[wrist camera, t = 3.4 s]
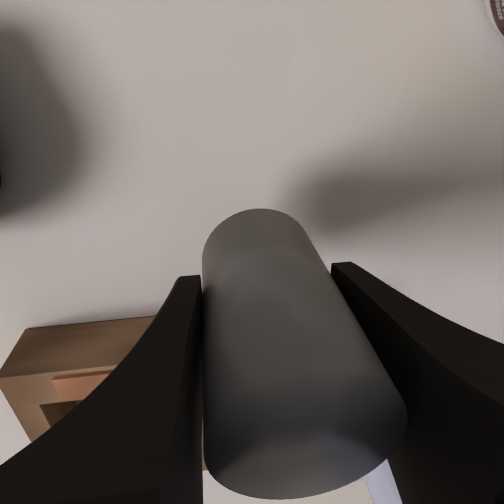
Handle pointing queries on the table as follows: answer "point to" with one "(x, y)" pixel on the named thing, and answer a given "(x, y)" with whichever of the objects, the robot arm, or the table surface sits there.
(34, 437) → the box
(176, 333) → the robot arm
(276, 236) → the plug
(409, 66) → the table surface
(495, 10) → the supplement bottle
